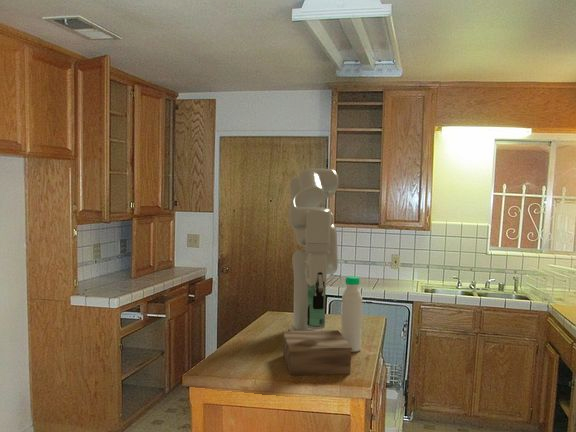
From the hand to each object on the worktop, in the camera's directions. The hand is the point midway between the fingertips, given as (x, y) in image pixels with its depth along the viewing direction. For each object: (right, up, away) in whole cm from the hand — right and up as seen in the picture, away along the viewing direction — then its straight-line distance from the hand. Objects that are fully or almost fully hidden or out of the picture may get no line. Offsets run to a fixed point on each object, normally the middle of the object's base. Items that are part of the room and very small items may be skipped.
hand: (316, 306), depth 157 cm
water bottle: (+13, -18, +17) cm, 28 cm away
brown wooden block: (0, -18, +1) cm, 18 cm away
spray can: (0, -7, 0) cm, 7 cm away
